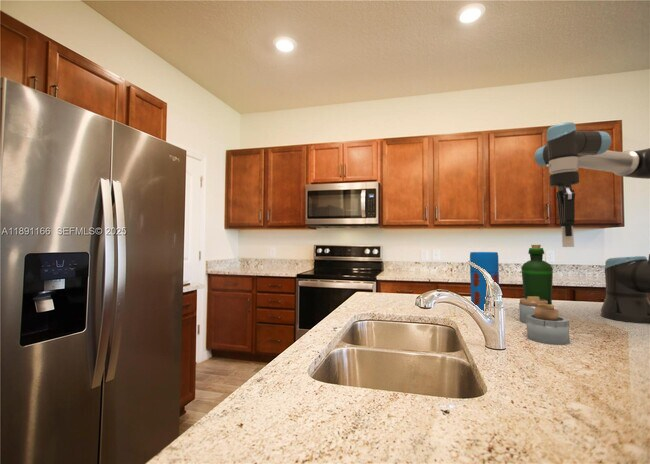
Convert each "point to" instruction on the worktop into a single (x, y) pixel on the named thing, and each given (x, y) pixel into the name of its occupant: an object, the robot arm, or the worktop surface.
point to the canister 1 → (529, 306)
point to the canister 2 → (548, 330)
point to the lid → (546, 312)
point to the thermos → (477, 279)
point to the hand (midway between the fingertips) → (568, 246)
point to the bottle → (537, 275)
